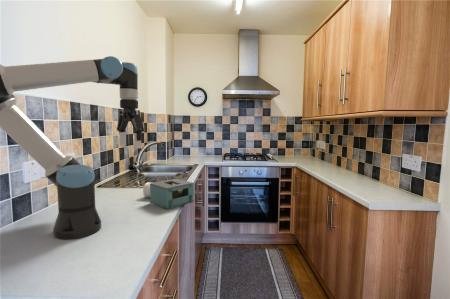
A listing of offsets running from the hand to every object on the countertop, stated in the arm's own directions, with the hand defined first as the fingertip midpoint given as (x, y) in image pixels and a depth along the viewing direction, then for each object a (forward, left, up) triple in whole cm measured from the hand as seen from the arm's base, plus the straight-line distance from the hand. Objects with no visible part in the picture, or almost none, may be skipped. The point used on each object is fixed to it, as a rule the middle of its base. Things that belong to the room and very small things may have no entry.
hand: (130, 147), depth 114 cm
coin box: (+19, -5, -29) cm, 35 cm away
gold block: (+19, -5, -27) cm, 33 cm away
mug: (+20, +10, -29) cm, 37 cm away
